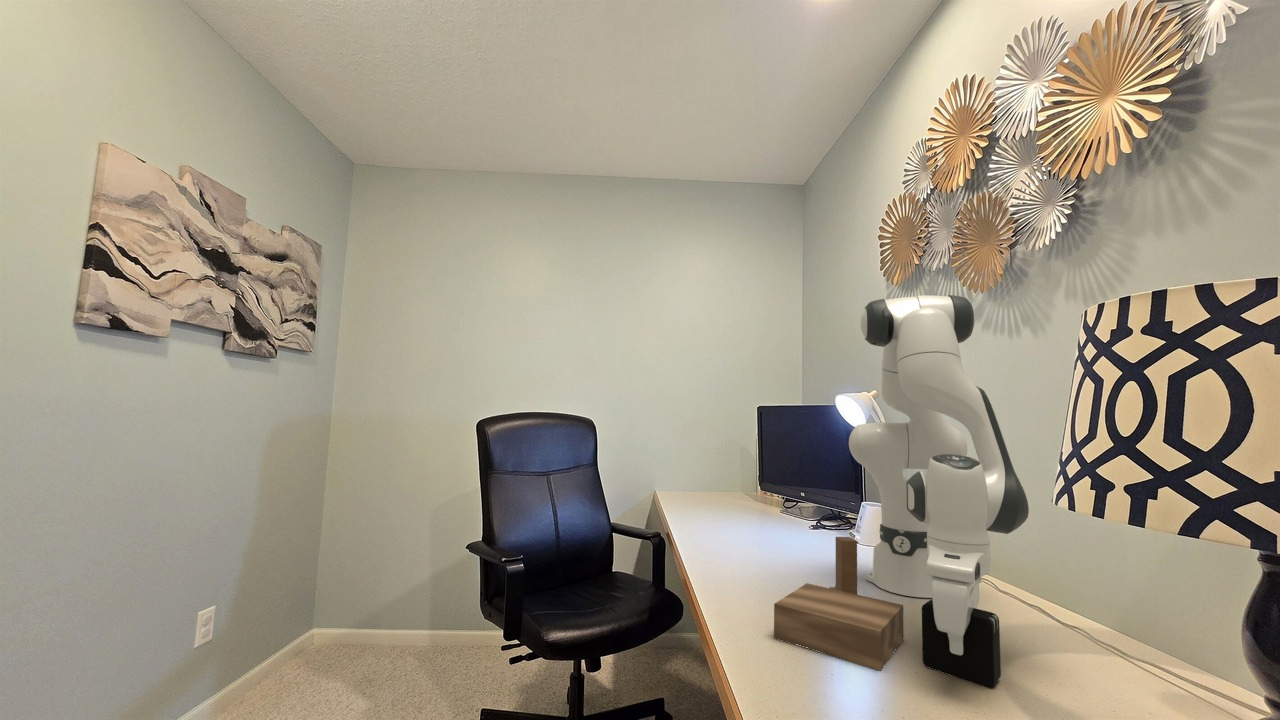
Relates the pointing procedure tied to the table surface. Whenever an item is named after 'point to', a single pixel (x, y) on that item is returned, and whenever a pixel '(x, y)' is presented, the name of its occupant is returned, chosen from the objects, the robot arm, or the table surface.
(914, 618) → the table surface
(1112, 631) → the table surface
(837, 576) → the wooden block
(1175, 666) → the table surface
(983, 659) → the electronic device
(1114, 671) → the table surface
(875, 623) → the walnut box
